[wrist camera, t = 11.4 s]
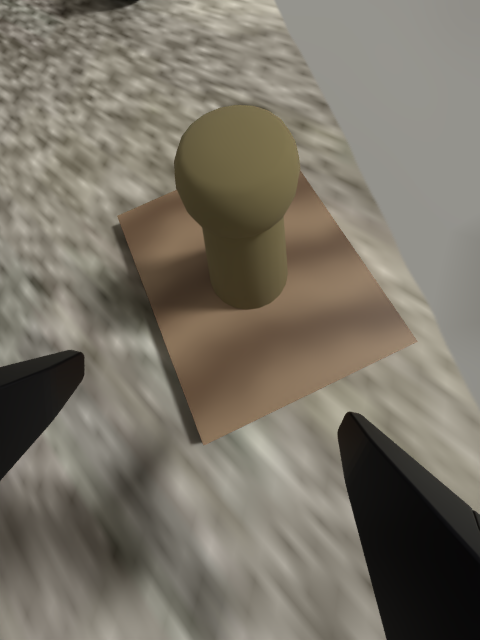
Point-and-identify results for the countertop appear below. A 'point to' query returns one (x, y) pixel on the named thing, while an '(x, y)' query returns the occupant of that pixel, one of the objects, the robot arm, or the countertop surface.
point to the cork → (240, 199)
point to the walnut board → (260, 314)
